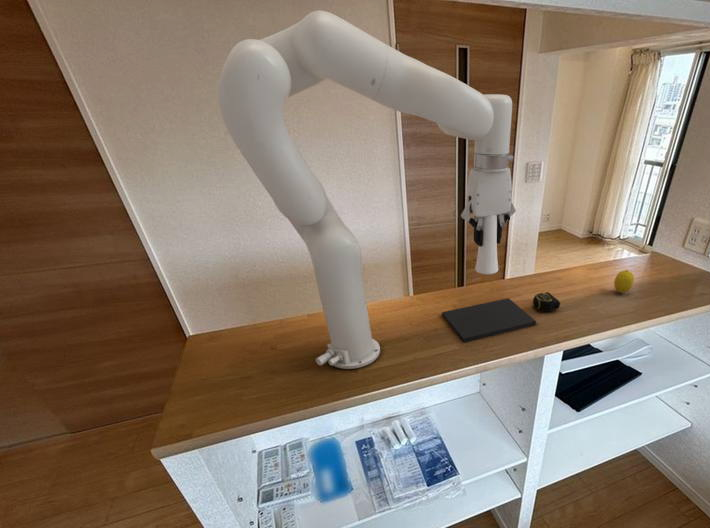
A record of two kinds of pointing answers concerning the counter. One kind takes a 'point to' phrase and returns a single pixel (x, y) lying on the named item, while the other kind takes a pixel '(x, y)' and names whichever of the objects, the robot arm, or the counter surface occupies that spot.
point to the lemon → (624, 281)
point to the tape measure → (545, 302)
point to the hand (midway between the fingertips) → (487, 242)
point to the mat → (487, 319)
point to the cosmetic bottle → (488, 247)
